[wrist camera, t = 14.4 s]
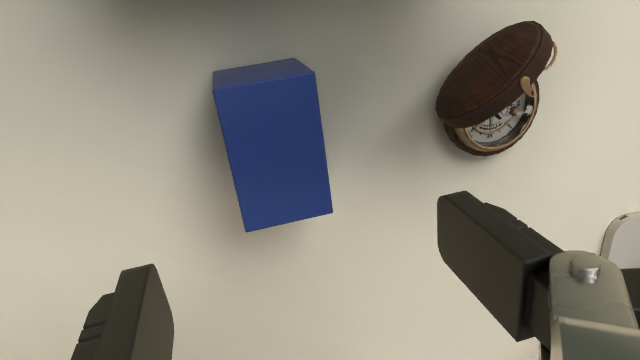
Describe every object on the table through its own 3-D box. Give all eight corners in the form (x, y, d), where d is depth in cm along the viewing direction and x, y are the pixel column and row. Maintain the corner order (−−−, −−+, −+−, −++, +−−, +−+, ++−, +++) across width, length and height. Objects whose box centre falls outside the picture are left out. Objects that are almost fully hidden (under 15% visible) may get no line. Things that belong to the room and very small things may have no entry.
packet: (240, 191, 25) (245, 233, 20) (212, 71, 22) (212, 89, 18) (312, 176, 26) (333, 213, 21) (295, 57, 23) (314, 71, 18)
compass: (481, 170, 28) (561, 221, 22) (403, 95, 25) (470, 129, 18) (569, 75, 27) (683, 99, 20) (499, -17, 24) (608, -23, 17)
